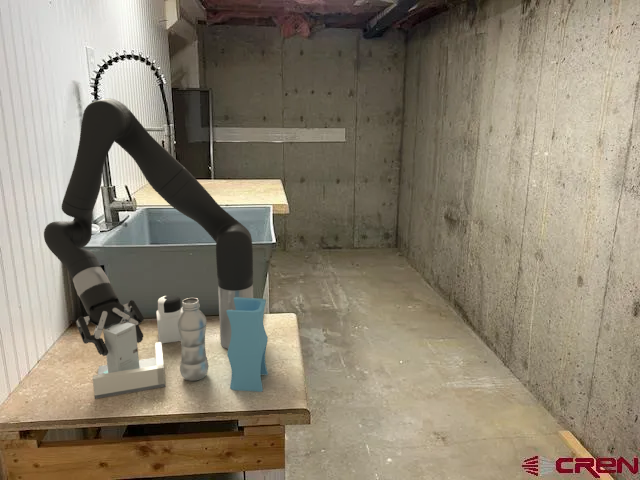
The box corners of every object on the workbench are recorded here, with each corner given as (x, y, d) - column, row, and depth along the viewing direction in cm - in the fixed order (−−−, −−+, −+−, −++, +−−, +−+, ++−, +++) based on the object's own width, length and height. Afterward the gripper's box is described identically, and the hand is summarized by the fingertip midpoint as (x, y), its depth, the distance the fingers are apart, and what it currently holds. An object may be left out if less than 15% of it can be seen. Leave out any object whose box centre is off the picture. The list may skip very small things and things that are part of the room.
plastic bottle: (178, 372, 117) (173, 297, 112) (206, 367, 120) (202, 293, 114) (182, 386, 111) (177, 308, 106) (211, 380, 114) (207, 304, 108)
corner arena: (162, 359, 123) (161, 341, 122) (165, 386, 111) (163, 367, 110) (99, 368, 118) (97, 350, 117) (95, 398, 106) (92, 379, 105)
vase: (236, 371, 118) (234, 297, 113) (267, 373, 118) (267, 298, 112) (228, 389, 111) (225, 311, 105) (262, 391, 110) (261, 312, 105)
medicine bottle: (183, 329, 139) (181, 291, 136) (186, 340, 133) (183, 300, 130) (158, 332, 137) (154, 294, 134) (159, 344, 130) (155, 304, 127)
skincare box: (120, 381, 111) (115, 334, 108) (107, 376, 113) (101, 330, 110) (141, 369, 117) (136, 324, 113) (128, 364, 119) (123, 320, 115)
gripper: (68, 290, 108) (98, 352, 104) (127, 274, 119) (156, 330, 115) (61, 305, 113) (89, 365, 109) (118, 289, 124) (146, 343, 120)
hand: (123, 347), depth 112 cm, fingers open, 8 cm apart
